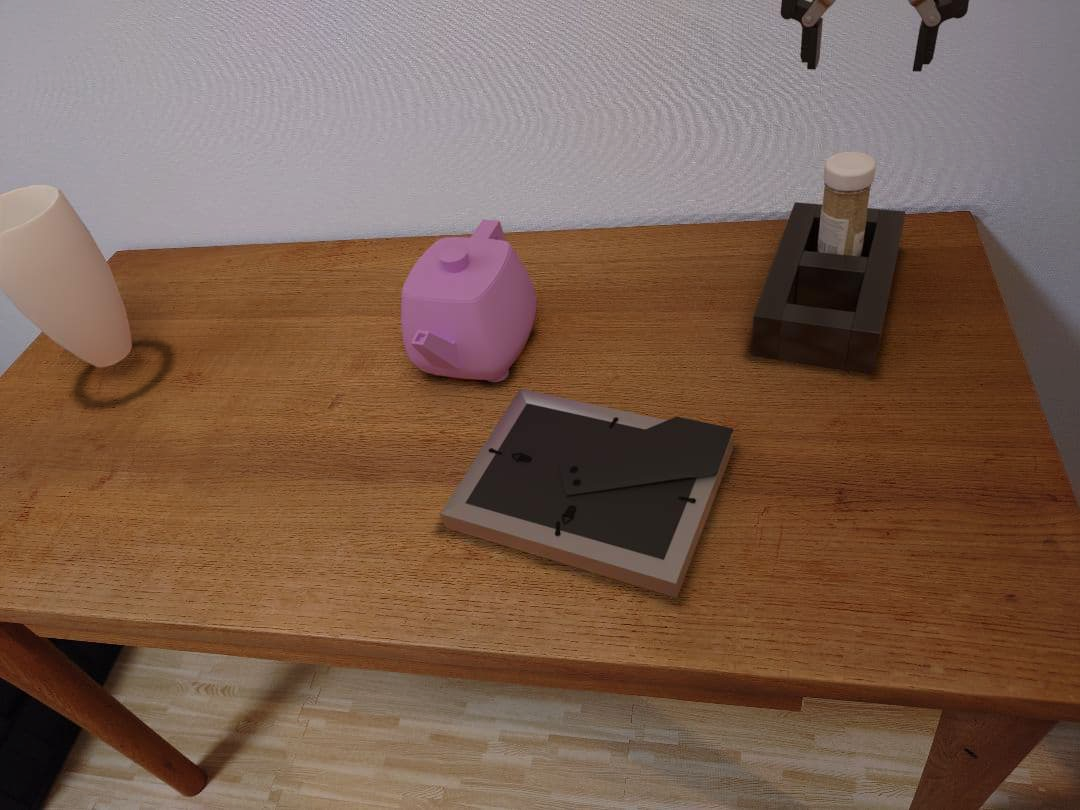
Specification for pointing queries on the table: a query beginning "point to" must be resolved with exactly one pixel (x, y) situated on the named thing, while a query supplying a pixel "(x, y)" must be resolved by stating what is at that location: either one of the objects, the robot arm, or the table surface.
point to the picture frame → (594, 488)
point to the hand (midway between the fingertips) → (864, 66)
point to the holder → (827, 294)
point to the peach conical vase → (60, 275)
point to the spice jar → (845, 203)
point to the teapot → (468, 306)
